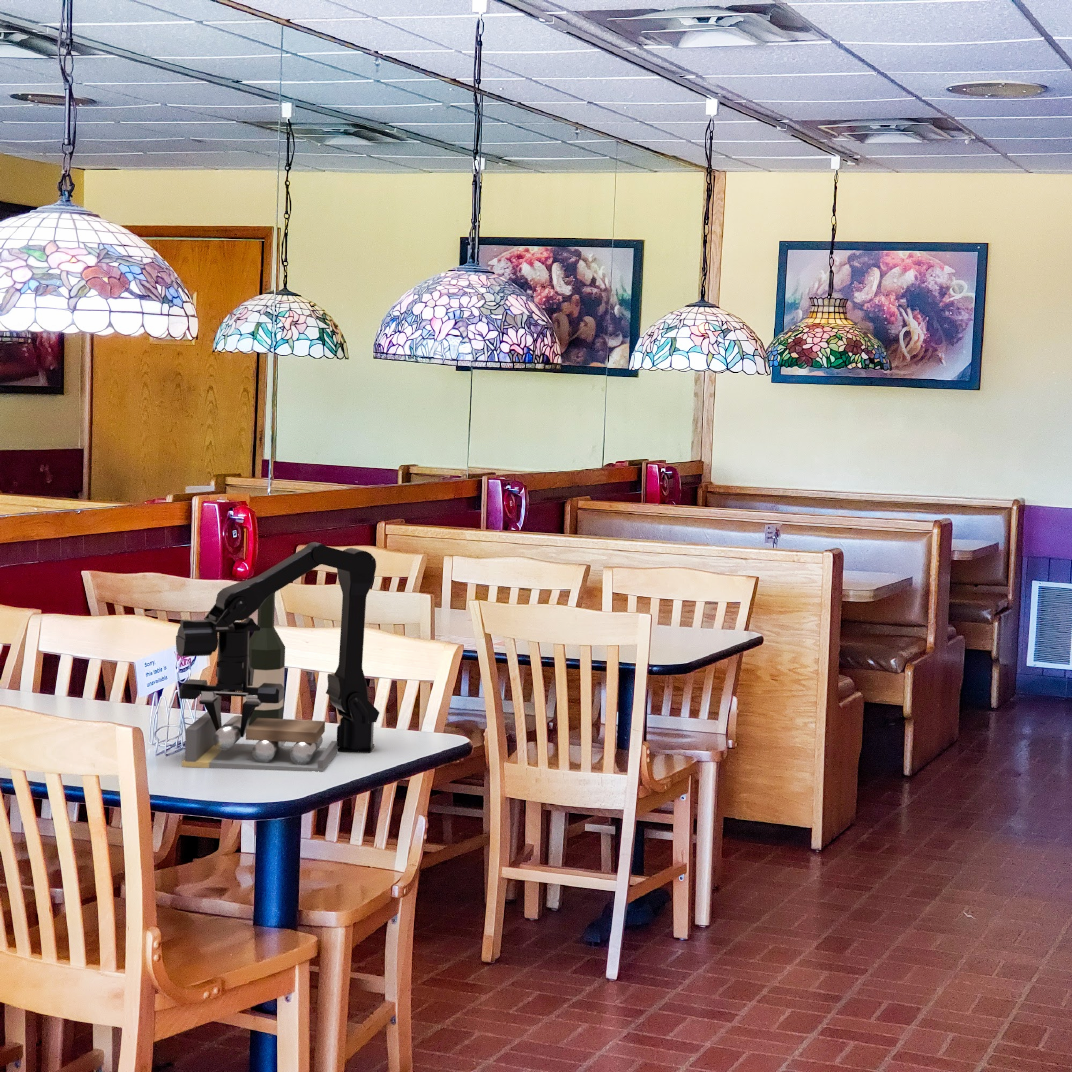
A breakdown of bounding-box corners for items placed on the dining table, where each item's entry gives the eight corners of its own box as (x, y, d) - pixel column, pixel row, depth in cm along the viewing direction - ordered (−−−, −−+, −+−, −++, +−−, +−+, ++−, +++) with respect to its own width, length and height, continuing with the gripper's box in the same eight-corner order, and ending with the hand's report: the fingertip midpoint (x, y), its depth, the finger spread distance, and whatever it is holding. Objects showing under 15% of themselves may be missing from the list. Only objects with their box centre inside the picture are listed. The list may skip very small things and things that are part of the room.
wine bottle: (243, 730, 302) (248, 585, 300) (240, 721, 310) (245, 580, 308) (284, 730, 304) (289, 585, 302) (280, 721, 312) (285, 580, 310)
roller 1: (227, 735, 284) (228, 714, 284) (248, 736, 284) (248, 716, 284) (212, 749, 272) (213, 728, 272) (233, 750, 272) (234, 729, 272)
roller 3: (304, 751, 284) (299, 731, 284) (324, 747, 284) (320, 727, 283) (292, 766, 272) (287, 745, 272) (313, 762, 272) (308, 741, 271)
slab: (324, 731, 282) (325, 721, 282) (315, 743, 272) (315, 732, 272) (257, 728, 283) (257, 717, 283) (245, 739, 273) (246, 729, 273)
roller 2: (268, 750, 284) (263, 730, 284) (288, 745, 284) (283, 725, 284) (254, 764, 272) (250, 744, 272) (275, 760, 272) (271, 739, 272)
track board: (336, 753, 286) (338, 718, 285) (322, 773, 270) (324, 736, 269) (203, 746, 286) (204, 711, 286) (181, 766, 271) (182, 729, 270)
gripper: (290, 650, 284) (288, 729, 286) (195, 645, 285) (193, 724, 286) (279, 659, 273) (276, 742, 275) (179, 654, 274) (177, 737, 275)
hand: (231, 736), depth 278 cm, fingers closed on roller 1, 4 cm apart
